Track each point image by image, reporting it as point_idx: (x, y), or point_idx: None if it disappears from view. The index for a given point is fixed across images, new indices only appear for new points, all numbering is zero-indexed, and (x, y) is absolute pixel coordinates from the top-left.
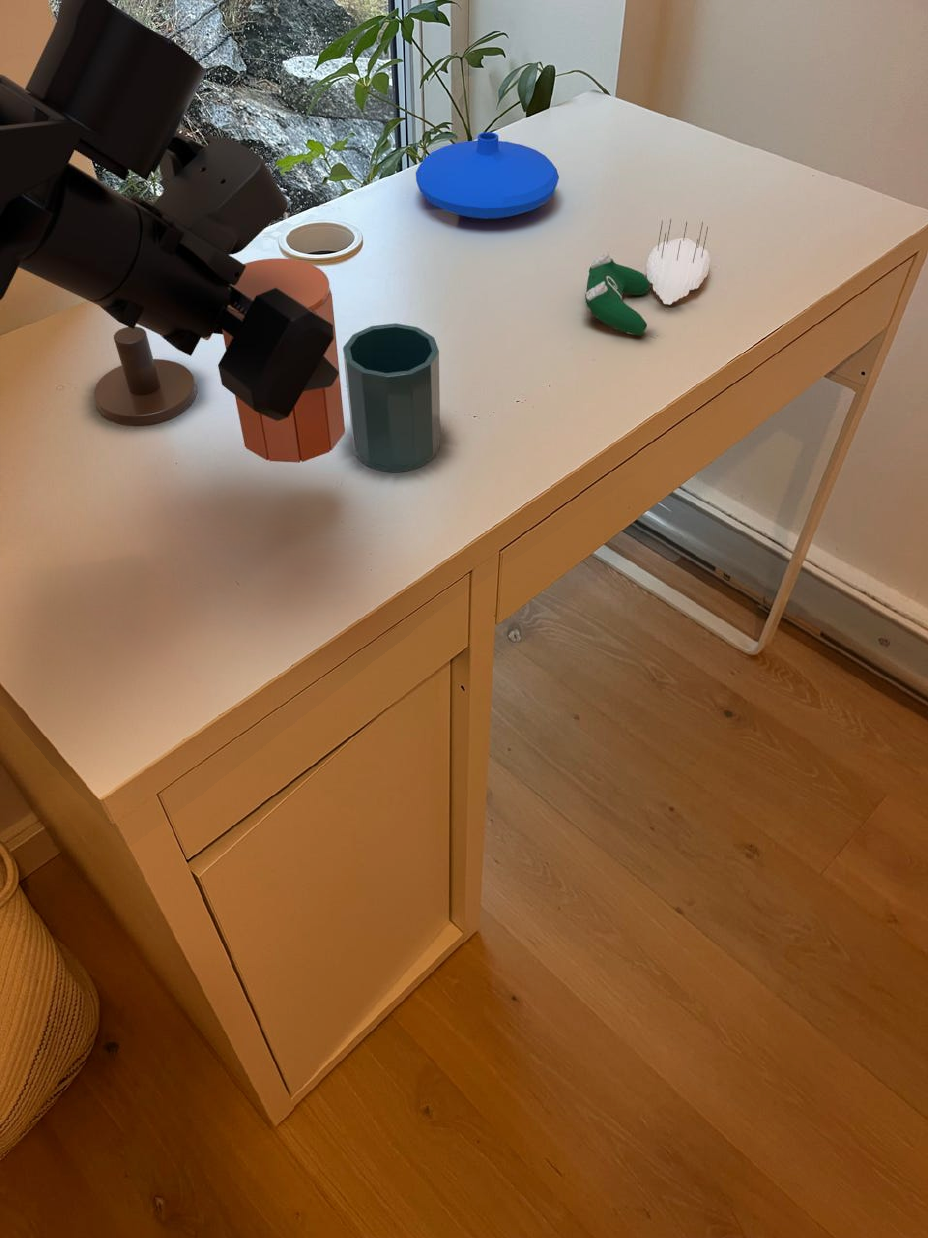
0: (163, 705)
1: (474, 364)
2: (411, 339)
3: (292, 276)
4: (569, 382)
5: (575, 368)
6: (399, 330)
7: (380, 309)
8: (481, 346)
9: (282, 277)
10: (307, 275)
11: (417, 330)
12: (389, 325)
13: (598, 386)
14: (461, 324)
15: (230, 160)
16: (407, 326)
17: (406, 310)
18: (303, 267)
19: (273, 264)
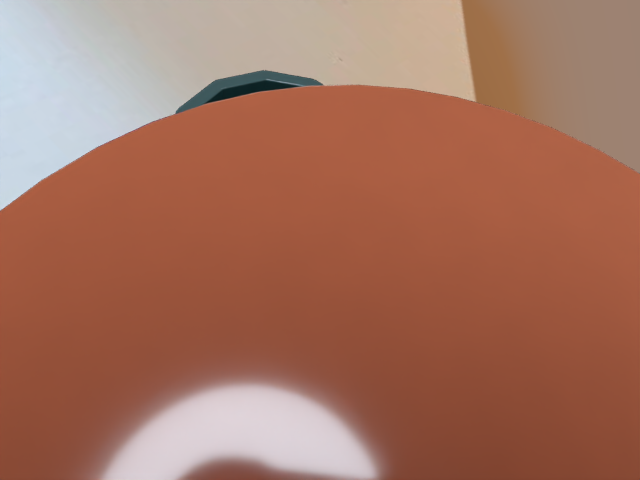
0: None
1: (227, 69)
2: None
3: (426, 277)
4: (354, 44)
5: (339, 21)
6: (233, 92)
7: (7, 36)
8: (207, 37)
9: (382, 344)
10: (488, 199)
11: (270, 77)
12: (210, 91)
13: (386, 35)
14: (148, 14)
15: None
16: (245, 77)
17: (49, 22)
18: (367, 139)
19: (137, 236)
